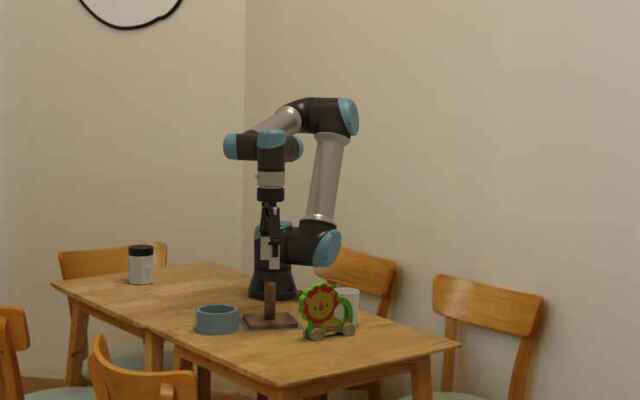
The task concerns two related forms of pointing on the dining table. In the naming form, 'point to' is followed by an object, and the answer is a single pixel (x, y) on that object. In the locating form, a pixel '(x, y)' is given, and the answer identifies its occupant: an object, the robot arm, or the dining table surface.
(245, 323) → the mat
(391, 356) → the dining table surface
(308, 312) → the toy lion
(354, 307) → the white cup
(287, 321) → the lid
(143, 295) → the dining table surface
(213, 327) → the bowl
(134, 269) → the jar
